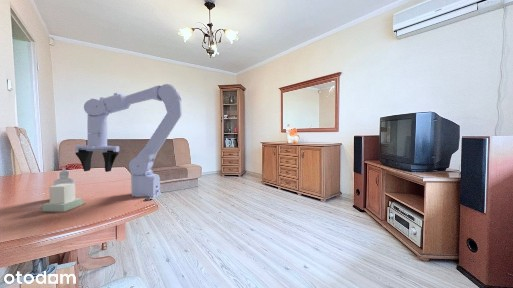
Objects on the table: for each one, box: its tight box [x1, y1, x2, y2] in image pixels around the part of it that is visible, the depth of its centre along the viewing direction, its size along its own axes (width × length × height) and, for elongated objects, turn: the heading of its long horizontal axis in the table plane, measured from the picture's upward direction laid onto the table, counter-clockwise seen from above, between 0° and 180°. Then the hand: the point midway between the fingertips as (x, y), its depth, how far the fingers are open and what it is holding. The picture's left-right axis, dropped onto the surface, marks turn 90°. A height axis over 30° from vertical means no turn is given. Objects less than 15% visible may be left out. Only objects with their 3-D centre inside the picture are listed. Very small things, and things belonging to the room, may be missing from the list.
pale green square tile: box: [36, 203, 86, 214], centre depth 65 cm, size 8×8×2 cm
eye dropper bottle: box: [53, 167, 76, 187], centre depth 75 cm, size 4×6×12 cm
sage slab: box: [41, 197, 84, 211], centre depth 65 cm, size 6×6×2 cm
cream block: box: [48, 184, 76, 204], centre depth 65 cm, size 4×4×5 cm
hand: (97, 171), depth 77 cm, fingers open, 7 cm apart
